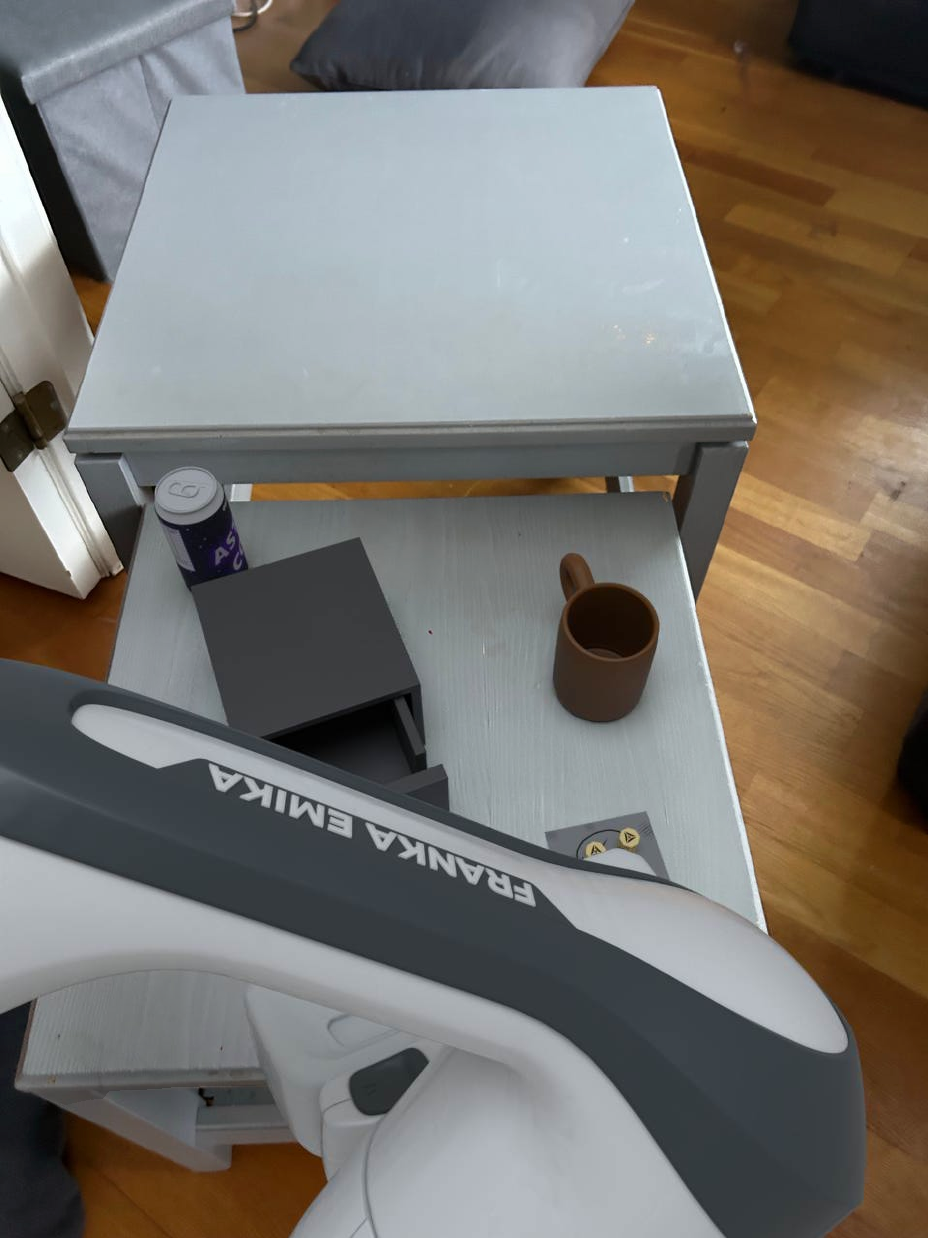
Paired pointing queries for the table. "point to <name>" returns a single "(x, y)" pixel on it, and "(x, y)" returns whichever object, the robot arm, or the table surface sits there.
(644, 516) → the table surface
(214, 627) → the box
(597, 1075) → the robot arm
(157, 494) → the beverage can
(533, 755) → the table surface
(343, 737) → the drawer
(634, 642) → the mug
